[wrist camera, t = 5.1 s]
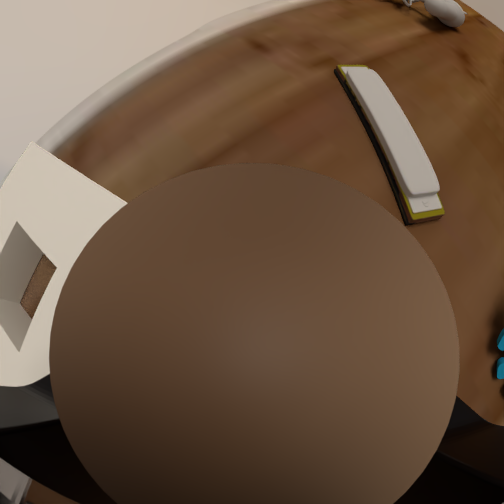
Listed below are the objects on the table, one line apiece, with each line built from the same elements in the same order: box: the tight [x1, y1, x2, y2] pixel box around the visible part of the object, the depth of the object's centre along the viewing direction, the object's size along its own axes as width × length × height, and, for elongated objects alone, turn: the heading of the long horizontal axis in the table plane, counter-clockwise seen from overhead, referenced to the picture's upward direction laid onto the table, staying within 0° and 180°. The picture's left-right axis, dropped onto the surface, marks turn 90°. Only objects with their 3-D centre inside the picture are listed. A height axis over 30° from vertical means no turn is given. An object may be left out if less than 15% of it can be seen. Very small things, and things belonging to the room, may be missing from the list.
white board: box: [0, 142, 128, 387], centre depth 14 cm, size 16×16×4 cm
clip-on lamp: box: [403, 0, 467, 27], centre depth 22 cm, size 12×6×18 cm
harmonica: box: [334, 65, 445, 225], centre depth 17 cm, size 15×3×2 cm, turn 10°
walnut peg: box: [49, 163, 459, 504], centre depth 8 cm, size 5×5×13 cm
